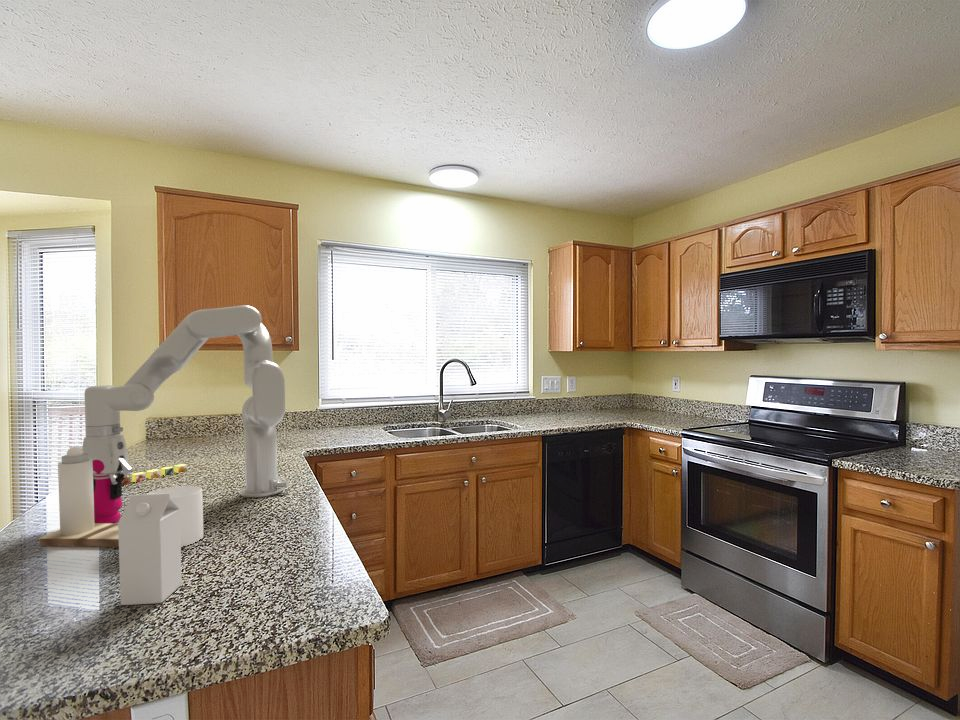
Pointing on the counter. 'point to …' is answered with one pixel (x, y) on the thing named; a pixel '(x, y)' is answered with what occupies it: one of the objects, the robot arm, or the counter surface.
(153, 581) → the milk carton
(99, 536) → the wooden divided tray
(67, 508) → the salt mill
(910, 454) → the counter surface
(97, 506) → the pepper mill
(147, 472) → the stock cubes
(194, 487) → the cup
